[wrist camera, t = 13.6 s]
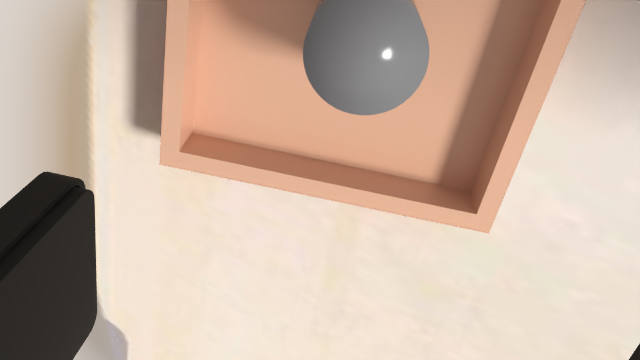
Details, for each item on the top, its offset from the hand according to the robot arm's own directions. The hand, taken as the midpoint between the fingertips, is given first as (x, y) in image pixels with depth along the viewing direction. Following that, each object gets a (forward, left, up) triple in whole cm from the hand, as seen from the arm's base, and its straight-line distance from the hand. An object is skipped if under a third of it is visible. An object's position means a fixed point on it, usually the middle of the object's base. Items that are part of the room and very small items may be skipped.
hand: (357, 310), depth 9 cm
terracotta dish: (0, 0, -21) cm, 21 cm away
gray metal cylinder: (0, 0, -21) cm, 21 cm away
